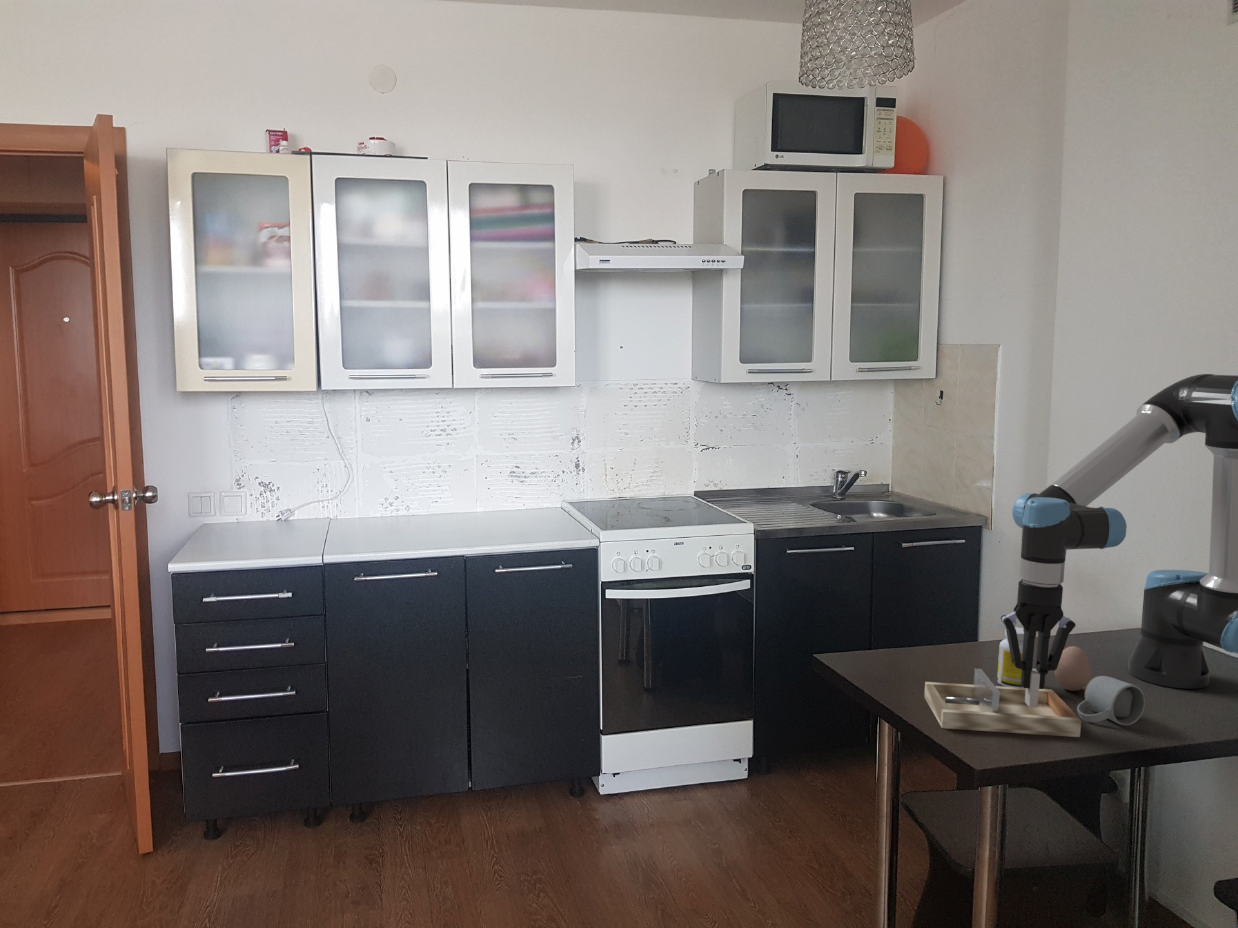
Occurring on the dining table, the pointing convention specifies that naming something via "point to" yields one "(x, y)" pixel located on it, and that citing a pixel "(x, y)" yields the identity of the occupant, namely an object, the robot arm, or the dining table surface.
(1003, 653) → the pill bottle
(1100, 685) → the ceramic mug
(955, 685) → the wooden tray
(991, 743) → the dining table surface
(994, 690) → the pusher
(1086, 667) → the egg
